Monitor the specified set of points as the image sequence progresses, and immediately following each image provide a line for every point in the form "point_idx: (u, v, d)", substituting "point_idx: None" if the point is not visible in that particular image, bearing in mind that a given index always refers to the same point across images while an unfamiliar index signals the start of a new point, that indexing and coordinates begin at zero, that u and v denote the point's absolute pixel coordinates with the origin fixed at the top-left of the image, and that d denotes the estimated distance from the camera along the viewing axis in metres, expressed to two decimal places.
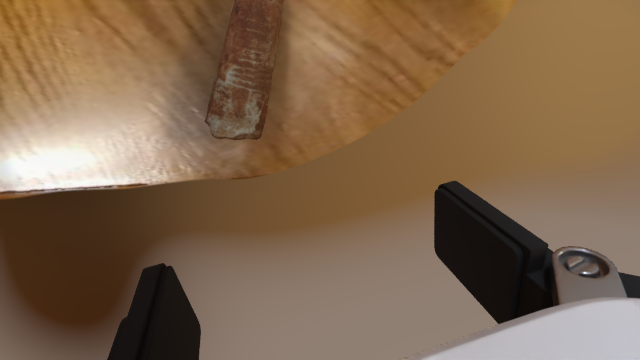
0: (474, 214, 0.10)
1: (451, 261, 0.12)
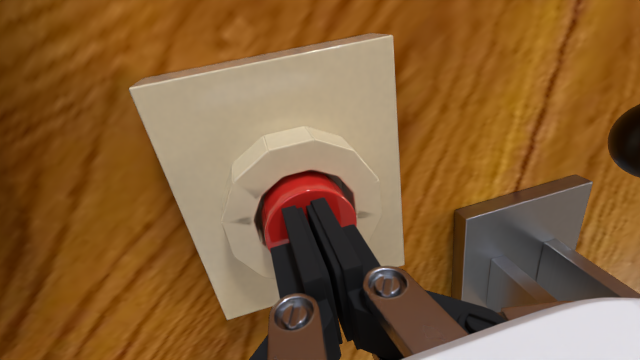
0: (321, 232, 0.10)
1: None
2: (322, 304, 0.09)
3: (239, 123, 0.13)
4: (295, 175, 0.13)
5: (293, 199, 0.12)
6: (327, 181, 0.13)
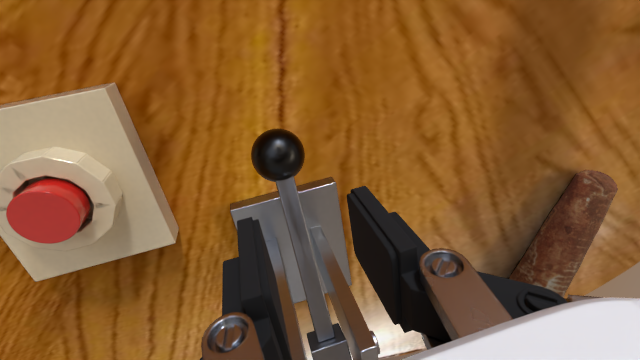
0: (369, 218, 0.10)
1: (363, 262, 0.12)
2: (263, 323, 0.08)
3: (4, 145, 0.20)
4: (38, 181, 0.20)
5: (20, 197, 0.19)
6: (57, 185, 0.20)
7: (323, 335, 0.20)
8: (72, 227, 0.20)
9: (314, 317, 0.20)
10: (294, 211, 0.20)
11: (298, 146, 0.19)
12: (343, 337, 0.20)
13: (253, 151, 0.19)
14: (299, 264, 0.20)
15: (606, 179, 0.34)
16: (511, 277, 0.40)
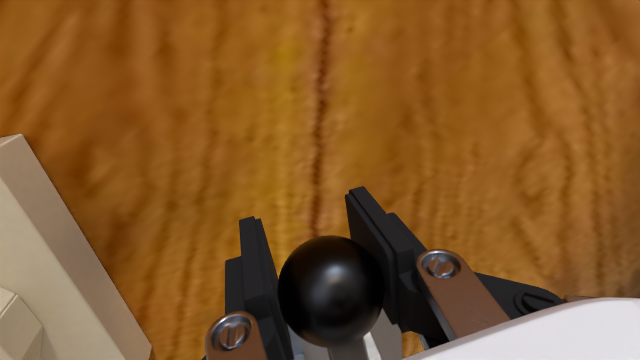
0: (366, 218, 0.10)
1: None
2: (266, 322, 0.08)
3: None
4: None
5: None
6: None
7: None
8: None
9: None
10: None
11: (378, 281, 0.09)
12: None
13: (282, 292, 0.09)
14: None
15: None
16: None
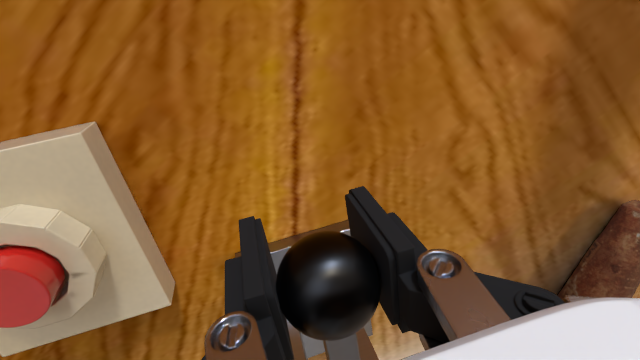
0: (367, 218, 0.10)
1: None
2: (265, 322, 0.08)
3: None
4: None
5: None
6: (21, 256, 0.16)
7: None
8: (40, 307, 0.16)
9: None
10: None
11: (378, 290, 0.09)
12: None
13: (284, 300, 0.09)
14: None
15: None
16: None
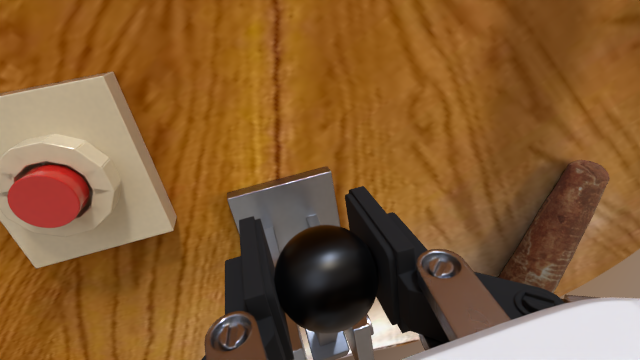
0: (366, 218, 0.10)
1: None
2: (266, 322, 0.08)
3: (5, 132, 0.20)
4: (38, 167, 0.20)
5: (21, 181, 0.19)
6: (57, 170, 0.20)
7: (326, 343, 0.19)
8: (72, 212, 0.20)
9: (322, 342, 0.18)
10: None
11: (376, 293, 0.10)
12: (345, 343, 0.20)
13: (286, 306, 0.09)
14: (320, 333, 0.15)
15: (598, 168, 0.34)
16: (506, 267, 0.40)
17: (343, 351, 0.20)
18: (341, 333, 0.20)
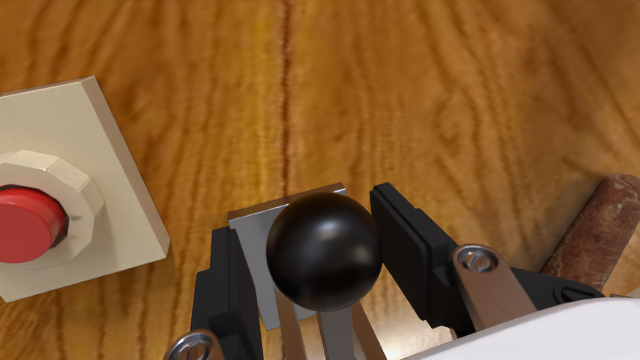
0: (395, 214, 0.10)
1: (386, 259, 0.12)
2: (230, 339, 0.08)
3: None
4: (2, 190, 0.17)
5: None
6: (24, 195, 0.17)
7: None
8: (42, 244, 0.17)
9: None
10: (339, 323, 0.11)
11: (381, 261, 0.08)
12: None
13: (276, 271, 0.08)
14: None
15: None
16: None
17: None
18: None
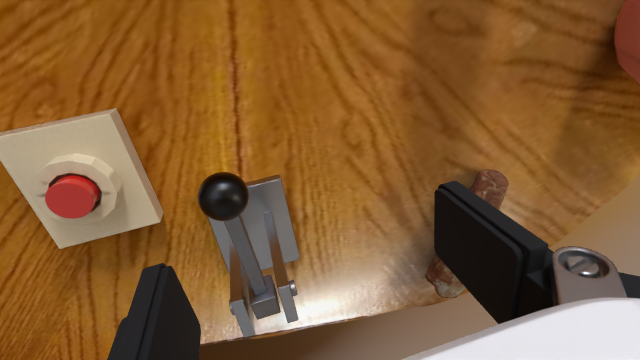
0: (474, 214, 0.10)
1: (451, 261, 0.12)
2: None
3: (41, 152, 0.30)
4: (65, 176, 0.29)
5: (54, 186, 0.28)
6: (78, 179, 0.29)
7: (259, 292, 0.29)
8: (87, 207, 0.30)
9: (253, 285, 0.28)
10: (239, 235, 0.24)
11: (243, 199, 0.21)
12: (273, 293, 0.29)
13: (199, 202, 0.21)
14: (242, 263, 0.26)
15: (498, 176, 0.43)
16: (435, 255, 0.49)
17: (271, 298, 0.29)
18: (271, 287, 0.29)
